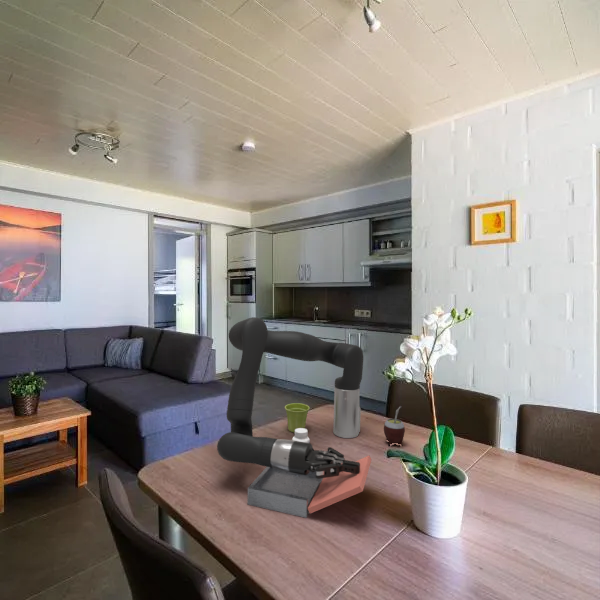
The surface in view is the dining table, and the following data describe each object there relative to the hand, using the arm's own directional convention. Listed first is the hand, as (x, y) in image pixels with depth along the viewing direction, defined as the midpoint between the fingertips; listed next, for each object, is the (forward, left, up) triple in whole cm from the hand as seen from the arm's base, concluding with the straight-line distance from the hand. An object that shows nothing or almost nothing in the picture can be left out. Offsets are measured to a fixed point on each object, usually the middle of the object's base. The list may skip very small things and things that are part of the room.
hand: (359, 468), depth 86 cm
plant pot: (-21, -47, -10) cm, 52 cm away
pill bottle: (-5, -27, -10) cm, 29 cm away
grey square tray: (+9, -16, -10) cm, 21 cm away
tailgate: (+5, -9, -8) cm, 13 cm away
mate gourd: (-39, -16, -10) cm, 43 cm away
